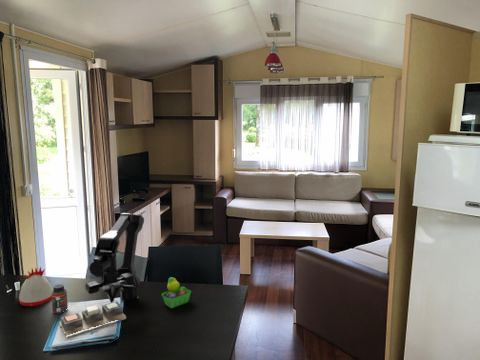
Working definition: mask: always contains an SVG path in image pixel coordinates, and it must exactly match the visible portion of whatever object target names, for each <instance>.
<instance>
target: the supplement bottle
mask: <svg viewBox="0 0 480 360" xmlns="http://www.w3.org/2000/svg"><path fill="white" fill-rule="evenodd" d="M52 289H53V291H52V293H51V296H52V299H51V307H52V313H54V314H56V315H59V314H63V313H64V312H63V311H65V310H66V309H67V308H69V307H68V306H69V305H68V294H67V290H66V289H65V286H64V284H62V283H61V284H59V283H58V284H55V285H53V287H52ZM67 310H68V309H67ZM62 312H63V313H62ZM65 312H66V311H65Z"/></svg>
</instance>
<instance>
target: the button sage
mask: <svg viewBox="0 0 480 360" xmlns="http://www.w3.org/2000/svg"><path fill="white" fill-rule="evenodd" d="M107 304H108V305H106V304H105V305H106V308H107V309H108V310H111V309H114V308H117V307H119V306H118V305H117V304H116V303H113V302H112V304H109V303H107Z"/></svg>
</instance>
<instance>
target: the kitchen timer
mask: <svg viewBox="0 0 480 360" xmlns="http://www.w3.org/2000/svg"><path fill="white" fill-rule="evenodd" d="M27 273H28V275H26V274H24V277H25V278H26V279H25V281H24V282H23V284H22V285H21V287H20V291H19V295H18V300H19V304H20V305H21V306H25V307H34V306H38V305H39V306H40V305H43V304H45V303H47V302H49V301H52V296H51V293H52V291H54V290H53V289H54V288H53V287H52V285H51V283H50V282H51V280H49V279H47V278H46V277H45V276H44V273H45V268H43V270H42V267H41V266H39V268H38V269H37V267H35V270H34V269H33V268H31V272H30V271H29V270H28V271H27Z"/></svg>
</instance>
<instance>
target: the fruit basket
mask: <svg viewBox="0 0 480 360" xmlns="http://www.w3.org/2000/svg"><path fill="white" fill-rule="evenodd" d="M166 286H167V287H166V288H167V291H164V292H162V293H161V297H162V298H163V301H164V305H166V306H167V307H168V308H170V309H173V308H177V307H179V306H181V305H182V306H183V305H184V304H187V303H189V300H190V297H191V294H192V291H191V290H190V289H187V288H186V287H185V286H181V285H180V282H179V281H177V279H176V278H175V277H172V276H170V277H169V278H168V280H167V285H166Z"/></svg>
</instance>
